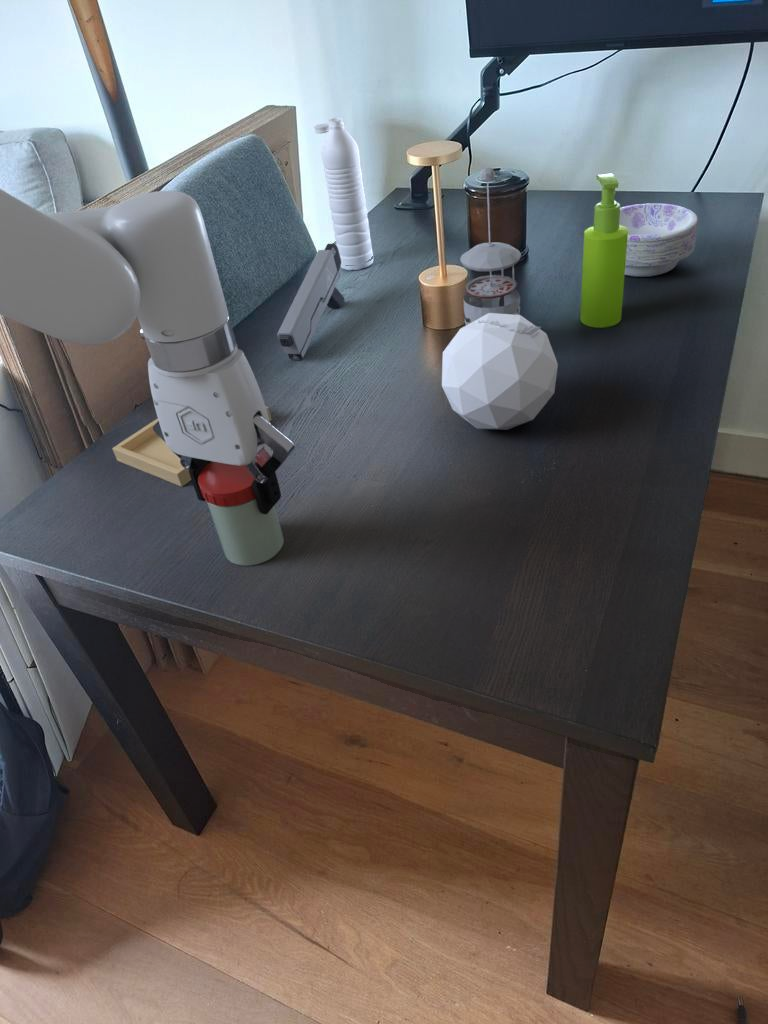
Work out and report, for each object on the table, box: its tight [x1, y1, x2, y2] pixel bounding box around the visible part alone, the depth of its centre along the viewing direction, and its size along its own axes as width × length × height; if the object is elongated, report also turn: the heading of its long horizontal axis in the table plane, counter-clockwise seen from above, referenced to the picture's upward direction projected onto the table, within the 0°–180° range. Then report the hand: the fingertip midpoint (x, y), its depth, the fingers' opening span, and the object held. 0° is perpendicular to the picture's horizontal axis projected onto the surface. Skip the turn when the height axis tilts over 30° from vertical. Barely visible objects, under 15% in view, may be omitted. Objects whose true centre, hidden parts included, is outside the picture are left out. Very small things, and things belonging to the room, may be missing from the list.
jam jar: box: [205, 498, 285, 567], centre depth 79 cm, size 7×7×9 cm
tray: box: [111, 405, 273, 488], centre depth 100 cm, size 17×13×2 cm
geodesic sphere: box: [441, 313, 559, 431], centre depth 91 cm, size 15×14×14 cm
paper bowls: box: [619, 203, 699, 278], centre depth 124 cm, size 15×15×8 cm
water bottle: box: [313, 117, 374, 271], centre depth 134 cm, size 9×6×25 cm
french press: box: [459, 167, 522, 326], centre depth 103 cm, size 10×12×25 cm
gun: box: [276, 243, 345, 361], centre depth 121 cm, size 2×25×10 cm, turn 164°
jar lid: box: [198, 454, 265, 506], centre depth 77 cm, size 7×7×2 cm
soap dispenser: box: [579, 173, 628, 329], centre depth 108 cm, size 6×7×20 cm
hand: (239, 498), depth 78 cm, fingers closed on jar lid, 7 cm apart
